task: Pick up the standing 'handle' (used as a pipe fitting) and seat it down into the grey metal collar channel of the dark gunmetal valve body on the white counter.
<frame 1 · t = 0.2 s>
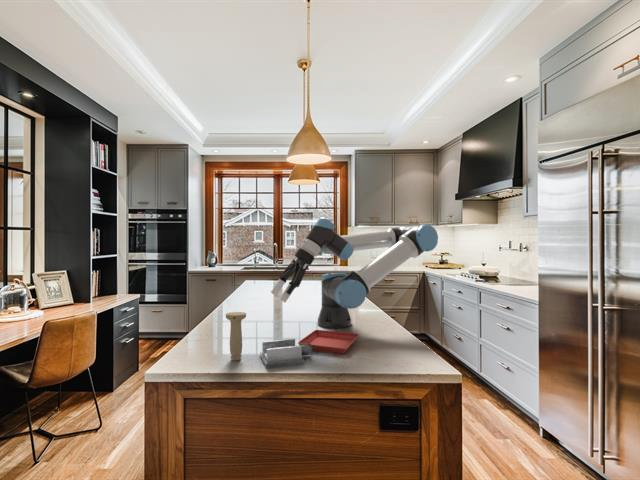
hand: (277, 297, 144), 16 cm above the countertop, tool tilted 35°, fingers open, 13 cm apart
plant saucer: (329, 347, 135), on the countertop
valve body: (281, 359, 120), on the countertop
handle: (236, 360, 120), on the countertop
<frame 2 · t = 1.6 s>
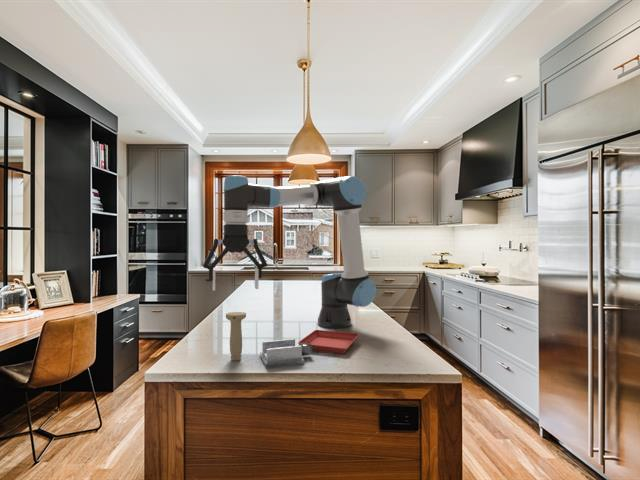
hand: (235, 289, 120), 23 cm above the countertop, tool pointing down, fingers open, 13 cm apart
nothing on the countertop moved.
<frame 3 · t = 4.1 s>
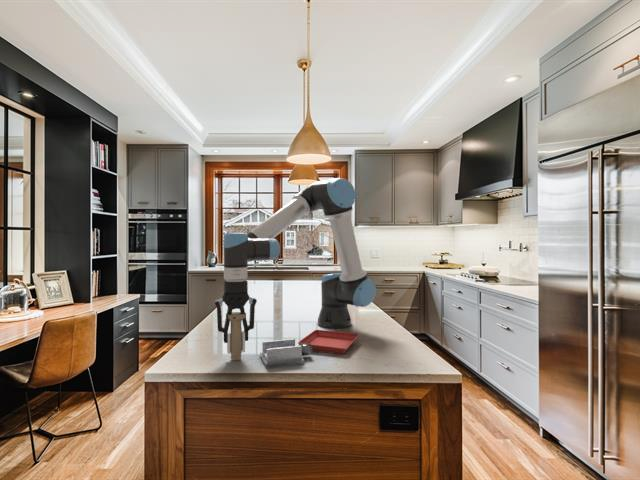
hand: (236, 351, 120), 3 cm above the countertop, tool pointing down, fingers closed on handle, 4 cm apart
handle: (236, 360, 120), on the countertop, touching gripper
everything else where it was.
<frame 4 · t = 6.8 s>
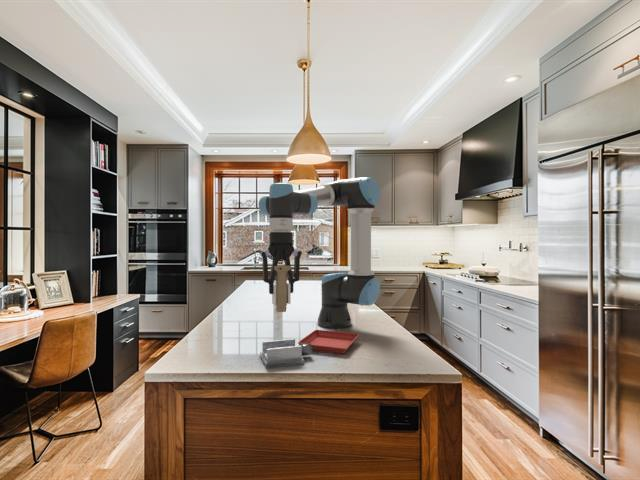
hand: (281, 303, 120), 18 cm above the countertop, tool pointing down, fingers closed on handle, 4 cm apart
handle: (281, 312, 120), point 16 cm above the countertop, touching gripper
everything else where it was.
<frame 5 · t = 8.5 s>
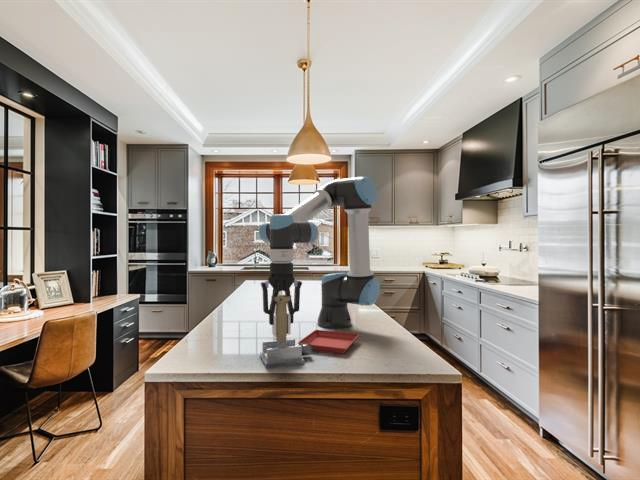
hand: (281, 333, 120), 9 cm above the countertop, tool pointing down, fingers closed on handle, 4 cm apart
handle: (281, 342, 120), point 6 cm above the countertop, touching gripper
everything else where it was.
when the fingers open (5 cm above the countertop, at t = 9.5 s): handle drops 1 cm, resting on valve body.
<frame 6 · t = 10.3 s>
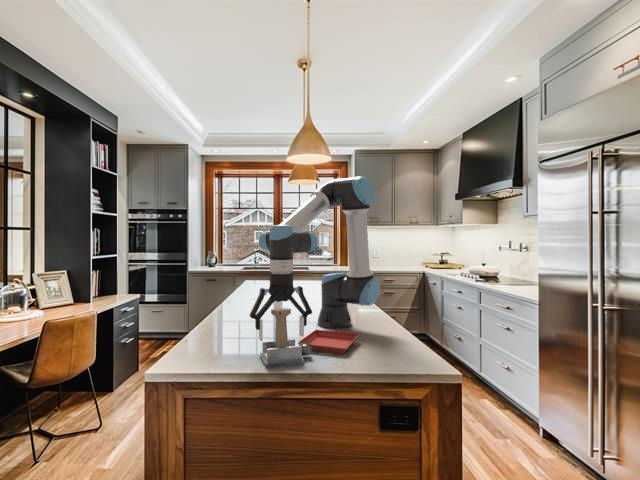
hand: (281, 337, 120), 7 cm above the countertop, tool pointing down, fingers open, 13 cm apart
handle: (281, 356, 120), point 1 cm above the countertop, touching valve body
everything else where it was.
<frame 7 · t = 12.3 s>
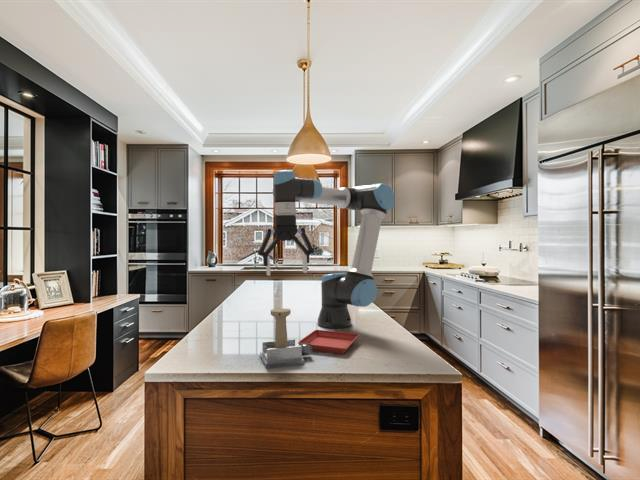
hand: (287, 274, 132), 27 cm above the countertop, tool pointing down, fingers open, 13 cm apart
nothing on the countertop moved.
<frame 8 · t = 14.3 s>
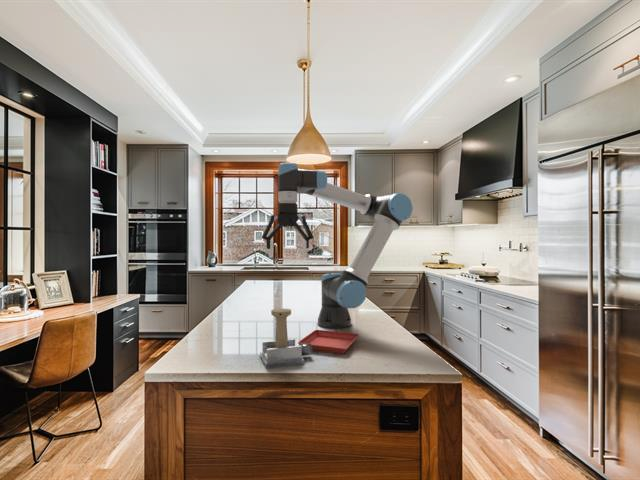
hand: (287, 257, 145), 32 cm above the countertop, tool pointing down, fingers open, 13 cm apart
nothing on the countertop moved.
at the end: handle 0.1 cm from the valve body (horizontally); handle tilted 1°; the gripper is holding nothing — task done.
